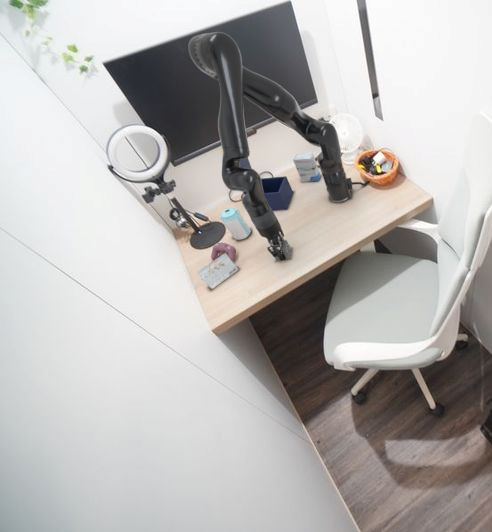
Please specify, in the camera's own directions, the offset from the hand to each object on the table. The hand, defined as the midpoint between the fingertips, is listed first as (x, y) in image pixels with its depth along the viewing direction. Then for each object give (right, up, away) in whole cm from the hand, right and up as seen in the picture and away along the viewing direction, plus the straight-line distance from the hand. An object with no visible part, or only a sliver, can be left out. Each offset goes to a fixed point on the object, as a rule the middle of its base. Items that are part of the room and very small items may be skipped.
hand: (284, 254), depth 121 cm
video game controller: (-23, -1, +3) cm, 23 cm away
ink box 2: (+1, +37, +33) cm, 50 cm away
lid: (-20, +35, +11) cm, 42 cm away
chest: (-13, +24, +23) cm, 36 cm away
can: (-21, +8, +11) cm, 25 cm away
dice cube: (0, 0, 0) cm, 1 cm away
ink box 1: (-20, -9, -4) cm, 23 cm away
